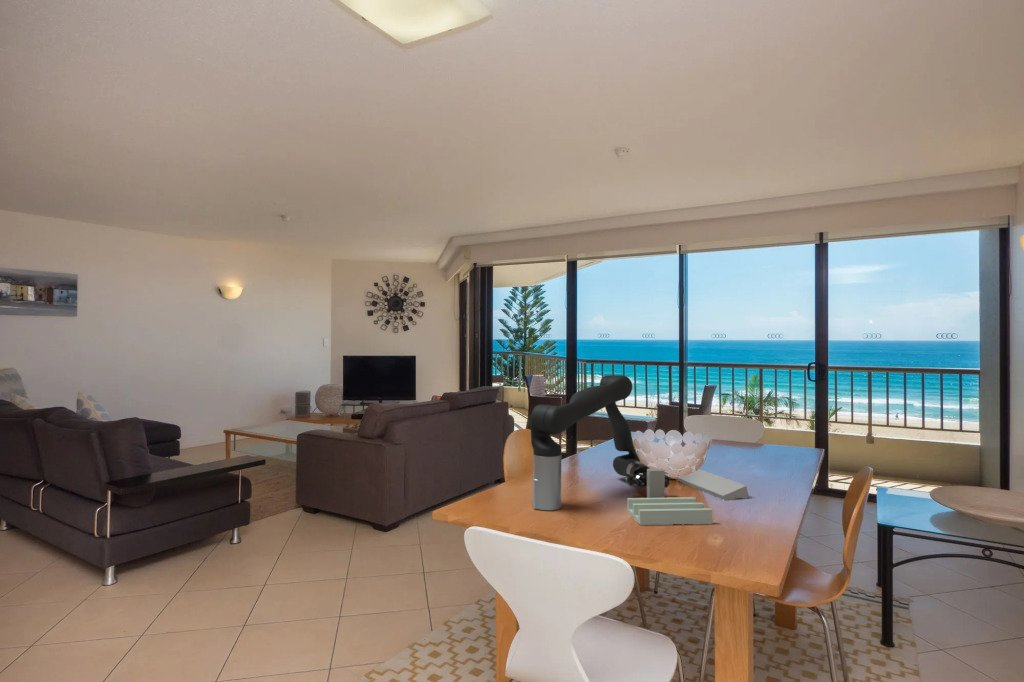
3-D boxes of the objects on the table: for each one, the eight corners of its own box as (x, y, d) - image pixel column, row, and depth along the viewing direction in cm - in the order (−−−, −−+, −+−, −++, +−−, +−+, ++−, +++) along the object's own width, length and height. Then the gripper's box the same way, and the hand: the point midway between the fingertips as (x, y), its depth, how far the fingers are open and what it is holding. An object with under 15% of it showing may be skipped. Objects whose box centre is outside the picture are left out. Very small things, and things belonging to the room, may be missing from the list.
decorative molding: (726, 508, 190) (749, 498, 193) (723, 495, 190) (746, 485, 193) (669, 484, 223) (689, 476, 226) (666, 473, 222) (687, 464, 225)
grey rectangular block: (649, 507, 182) (649, 470, 182) (646, 504, 185) (646, 468, 185) (664, 507, 182) (664, 470, 182) (661, 504, 185) (661, 468, 185)
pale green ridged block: (640, 525, 164) (640, 511, 164) (627, 511, 177) (627, 497, 177) (712, 524, 165) (712, 510, 165) (693, 510, 179) (694, 497, 179)
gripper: (620, 463, 200) (633, 473, 184) (658, 463, 201) (674, 473, 185) (620, 484, 200) (633, 496, 184) (658, 483, 201) (674, 495, 185)
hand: (653, 484), depth 185 cm, fingers open, 8 cm apart
